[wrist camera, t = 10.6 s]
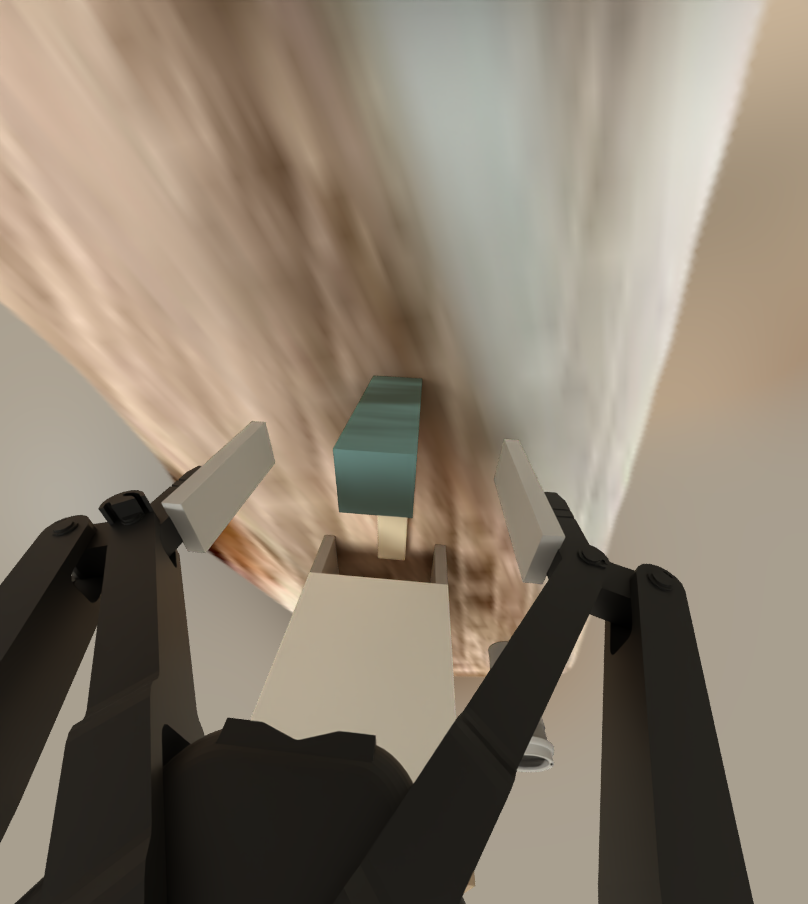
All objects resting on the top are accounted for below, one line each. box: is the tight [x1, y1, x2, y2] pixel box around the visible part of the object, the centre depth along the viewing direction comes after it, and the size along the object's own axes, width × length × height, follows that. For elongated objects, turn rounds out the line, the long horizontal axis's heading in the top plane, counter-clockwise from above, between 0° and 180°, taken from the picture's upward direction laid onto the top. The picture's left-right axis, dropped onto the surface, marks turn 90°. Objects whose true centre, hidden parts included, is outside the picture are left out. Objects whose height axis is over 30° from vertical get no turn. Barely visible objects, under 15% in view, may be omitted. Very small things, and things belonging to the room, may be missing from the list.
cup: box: [488, 642, 554, 772], centre depth 39 cm, size 7×7×12 cm
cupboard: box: [250, 535, 475, 893], centre depth 27 cm, size 11×15×22 cm
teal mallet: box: [333, 376, 422, 560], centre depth 24 cm, size 20×4×12 cm, turn 178°
